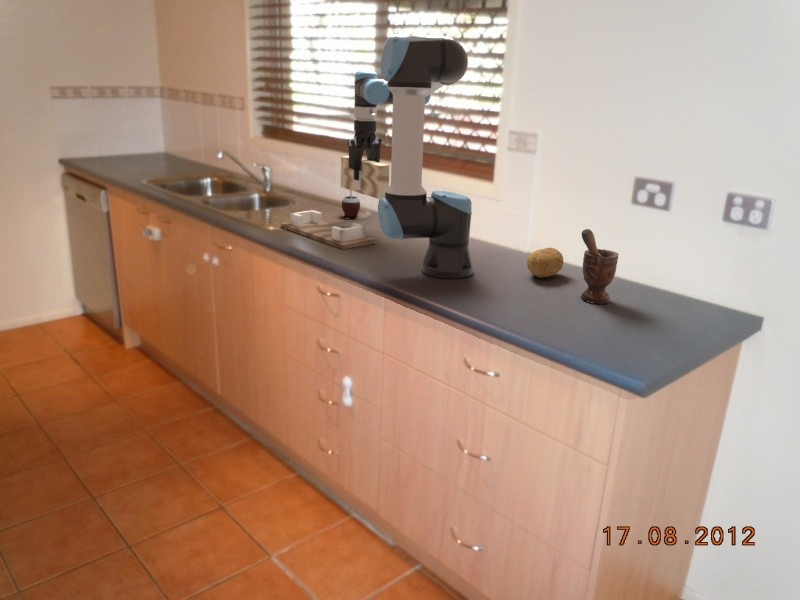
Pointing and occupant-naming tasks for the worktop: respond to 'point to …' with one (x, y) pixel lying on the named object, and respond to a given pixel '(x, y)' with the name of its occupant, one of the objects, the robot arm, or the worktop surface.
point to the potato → (545, 262)
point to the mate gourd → (350, 206)
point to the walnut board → (326, 234)
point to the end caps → (337, 233)
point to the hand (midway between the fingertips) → (363, 188)
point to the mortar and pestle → (597, 269)
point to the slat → (366, 177)
